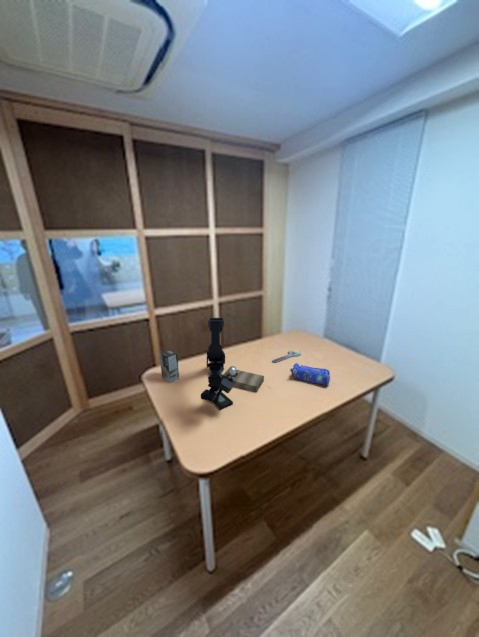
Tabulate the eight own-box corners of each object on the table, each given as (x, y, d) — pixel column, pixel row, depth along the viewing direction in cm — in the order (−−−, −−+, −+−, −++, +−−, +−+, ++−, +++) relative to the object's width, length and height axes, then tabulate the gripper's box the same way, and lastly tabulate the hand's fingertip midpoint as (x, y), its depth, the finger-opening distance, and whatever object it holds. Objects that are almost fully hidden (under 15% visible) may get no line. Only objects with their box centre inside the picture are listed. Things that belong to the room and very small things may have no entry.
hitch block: (220, 383, 146) (220, 377, 145) (229, 373, 157) (229, 368, 155) (256, 392, 138) (257, 386, 137) (263, 381, 149) (264, 375, 147)
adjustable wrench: (266, 359, 176) (266, 356, 175) (295, 350, 188) (295, 348, 188) (274, 364, 169) (274, 361, 169) (303, 355, 182) (303, 352, 181)
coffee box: (179, 378, 150) (177, 353, 145) (170, 383, 145) (167, 357, 140) (170, 373, 156) (168, 348, 151) (161, 377, 151) (159, 352, 146)
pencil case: (288, 379, 150) (290, 365, 148) (292, 373, 158) (293, 359, 155) (328, 389, 142) (330, 373, 139) (329, 381, 150) (332, 366, 147)
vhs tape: (217, 391, 139) (217, 388, 138) (233, 405, 128) (233, 402, 128) (205, 396, 135) (205, 393, 134) (220, 411, 124) (220, 407, 123)
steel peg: (228, 380, 148) (228, 368, 146) (231, 377, 152) (231, 365, 149) (234, 382, 147) (234, 369, 145) (236, 379, 150) (236, 366, 148)
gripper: (222, 388, 109) (222, 418, 114) (239, 368, 125) (239, 395, 130) (199, 382, 113) (200, 412, 118) (218, 363, 129) (219, 390, 134)
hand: (216, 402), depth 125 cm, fingers closed
